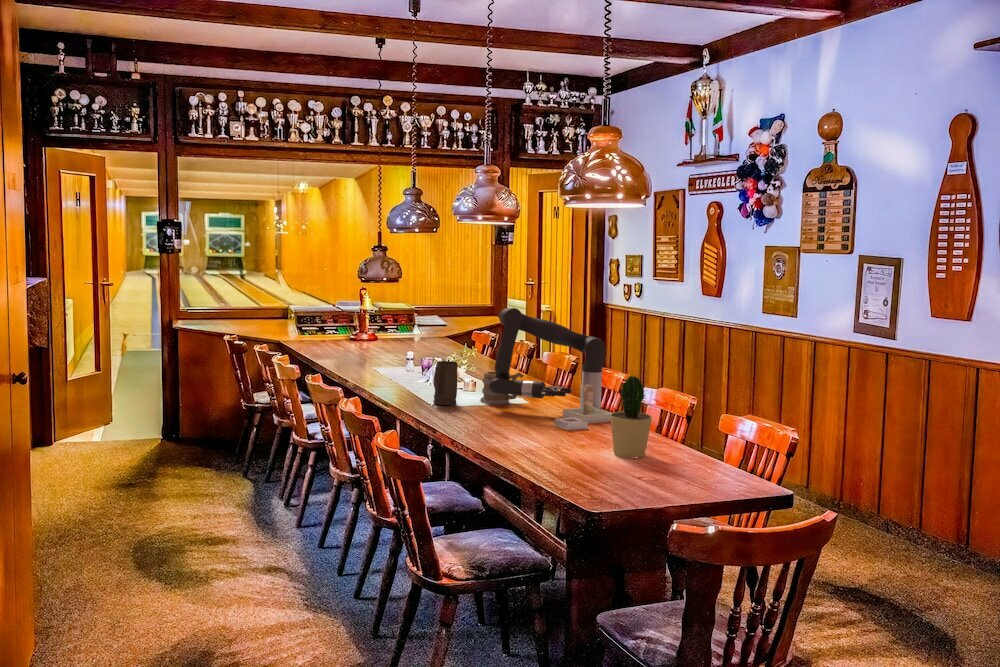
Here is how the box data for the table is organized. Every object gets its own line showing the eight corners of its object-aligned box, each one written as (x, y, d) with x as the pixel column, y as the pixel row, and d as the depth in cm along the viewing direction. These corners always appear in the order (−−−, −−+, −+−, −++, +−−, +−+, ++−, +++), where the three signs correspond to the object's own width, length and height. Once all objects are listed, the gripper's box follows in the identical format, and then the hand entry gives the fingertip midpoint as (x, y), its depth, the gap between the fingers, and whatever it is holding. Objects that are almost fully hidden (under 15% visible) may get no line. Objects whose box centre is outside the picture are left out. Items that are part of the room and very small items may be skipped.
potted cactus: (601, 451, 350) (604, 371, 346) (637, 448, 355) (641, 371, 352) (620, 460, 335) (624, 378, 332) (657, 458, 341) (662, 377, 337)
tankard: (478, 403, 440) (478, 371, 438) (486, 398, 452) (487, 368, 450) (518, 406, 434) (519, 374, 433) (525, 402, 446) (526, 371, 445)
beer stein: (439, 401, 441) (440, 359, 439) (460, 403, 438) (461, 361, 436) (426, 406, 427) (427, 363, 425) (447, 408, 423) (449, 365, 421)
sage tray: (562, 416, 413) (562, 409, 412) (592, 414, 420) (592, 406, 420) (583, 423, 399) (583, 415, 398) (613, 421, 407) (613, 413, 406)
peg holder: (554, 425, 393) (554, 418, 392) (574, 424, 398) (574, 417, 397) (567, 430, 384) (567, 423, 384) (587, 428, 389) (587, 421, 389)
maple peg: (581, 416, 410) (582, 384, 409) (588, 415, 412) (590, 384, 411) (586, 417, 407) (587, 386, 405) (593, 417, 409) (595, 385, 407)
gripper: (528, 383, 410) (564, 386, 405) (538, 378, 423) (573, 381, 418) (528, 400, 411) (563, 403, 405) (537, 395, 424) (572, 398, 419)
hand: (568, 392), depth 412 cm, fingers open, 8 cm apart
